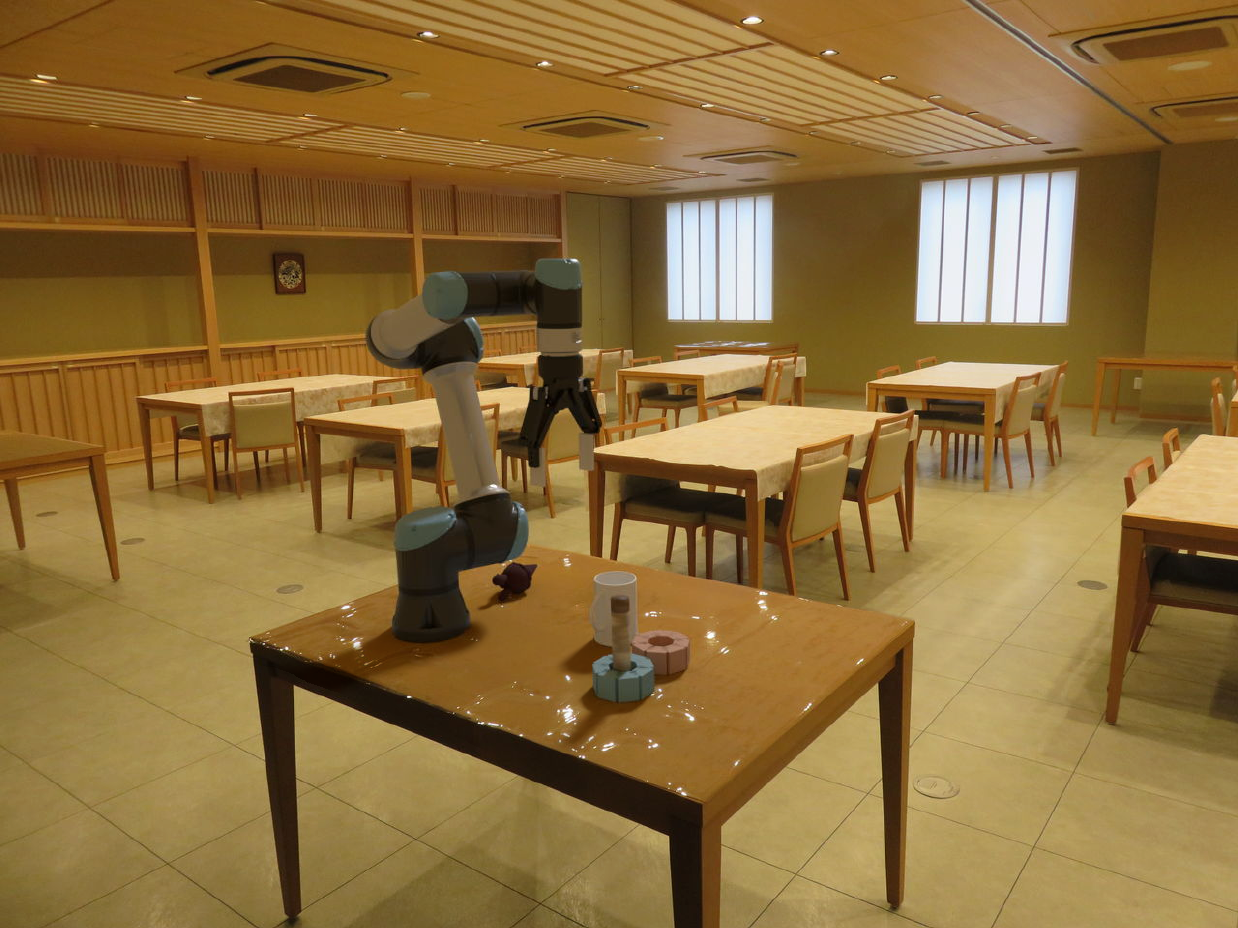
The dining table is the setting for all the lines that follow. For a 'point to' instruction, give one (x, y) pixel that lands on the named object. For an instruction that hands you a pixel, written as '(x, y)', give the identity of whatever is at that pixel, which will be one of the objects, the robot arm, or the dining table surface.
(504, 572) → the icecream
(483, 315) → the robot arm
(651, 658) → the bead terracotta
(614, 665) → the wooden dowel handle
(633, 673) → the bead
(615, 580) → the mug
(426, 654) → the dining table surface
